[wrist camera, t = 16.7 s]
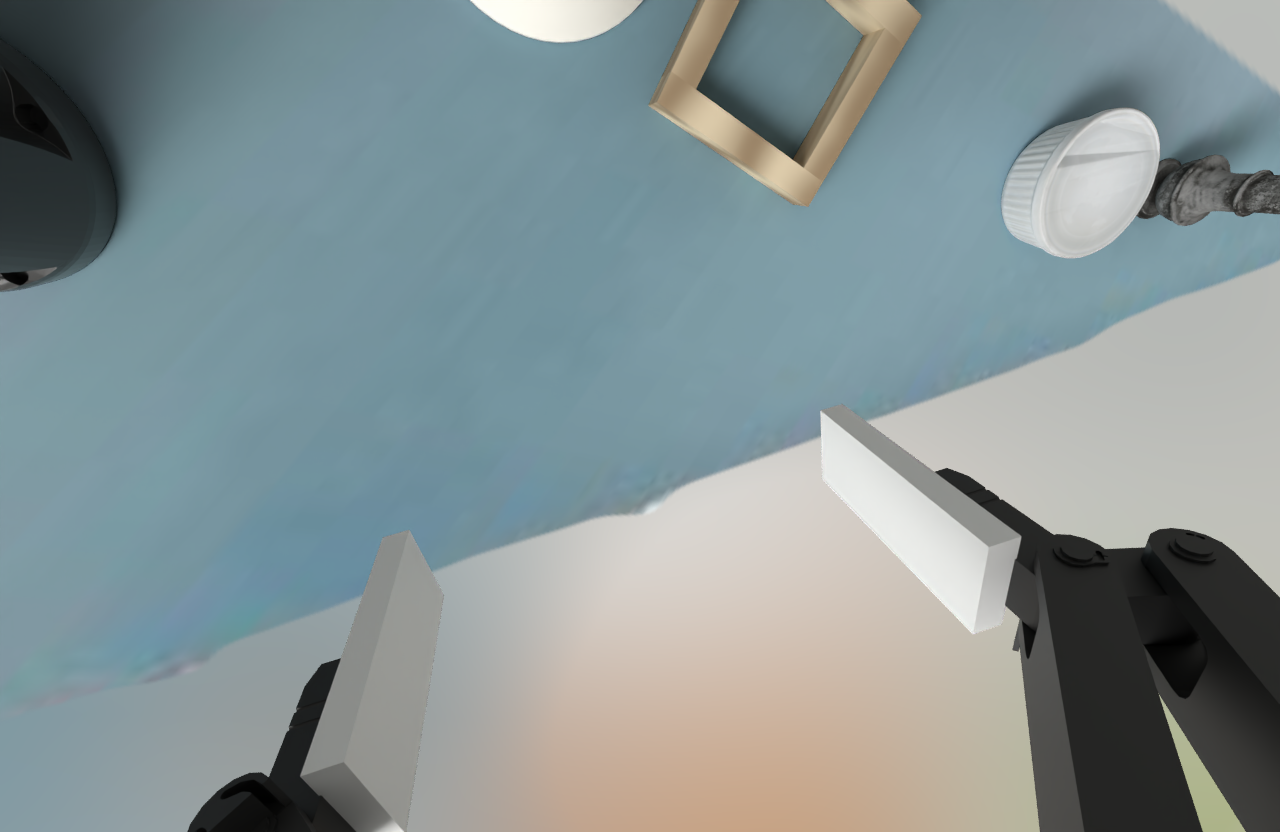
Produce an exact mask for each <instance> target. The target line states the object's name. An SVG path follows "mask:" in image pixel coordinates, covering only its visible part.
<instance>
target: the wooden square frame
mask: <svg viewBox="0 0 1280 832" xmlns="http://www.w3.org/2000/svg"><path fill="white" fill-rule="evenodd" d="M739 1H740V0H698V1H697V3H696V5H695V7H694V9H693V12H692V14H691V16H690V18H689V20H688V22H687V24H686V26H685V29H684V31H683V33H682V35H681V37H680V39H679V41H678V43H677V46H676V48H675V50H674V52H673V54H672V56H671V58H670V60H669V63H668V65H667V67H666V69H665V71H664V73H663V75H662V77H661V80H660V82H659V84H658V86H657V88H656V90H655V92H654V94H653V97H652V99H651V101H650V103H649V105H648V106H650V107H651V108H653V109H654V110H656V111H657V112H658V113H660V114H661V115H663V116H664V117H666V118H667V119H669V120H670V121H672V122H673V123H675V124H676V125H677V126H679V127H680V128H682V129H683V130H685V131H686V132H688V133H689V134H691V135H692V136H694V137H695V138H697V139H698V140H699V141H701V142H702V143H704V144H705V145H707V146H708V147H710V148H711V149H713V150H714V151H716V152H717V153H718V154H720V155H721V156H723V157H724V158H726V159H727V160H729V161H730V162H732V163H733V164H735V165H736V166H737V167H739V168H740V169H742V170H743V171H745V172H746V173H748V174H749V175H751V176H752V177H754V178H755V179H756V180H758V181H759V182H761V183H762V184H764V185H765V186H767V187H768V188H770V189H771V190H773V191H774V192H775V193H777V194H778V195H780V196H781V197H783V198H784V199H786V200H787V201H789V202H790V203H792V204H794V205H801V206H807V207H808V206H809V204H810V203H811V201H812V199H813V198H814V196H815V194H816V192H817V191H818V189H819V187H820V186H821V184H822V182H823V181H824V179H825V177H826V176H827V174H828V172H829V171H830V169H831V167H832V166H833V164H834V162H835V161H836V159H837V157H838V156H839V154H840V152H841V151H842V149H843V147H844V146H845V144H846V142H847V141H848V139H849V137H850V136H851V134H852V132H853V130H854V129H855V127H856V125H857V124H858V122H859V120H860V119H861V117H862V115H863V114H864V112H865V110H866V109H867V107H868V105H869V104H870V102H871V100H872V99H873V97H874V95H875V94H876V92H877V90H878V89H879V87H880V85H881V84H882V82H883V80H884V79H885V77H886V75H887V73H888V72H889V70H890V68H891V67H892V65H893V63H894V62H895V60H896V58H897V57H898V55H899V53H900V52H901V50H902V48H903V47H904V45H905V43H906V42H907V40H908V38H909V37H910V35H911V33H912V32H913V30H914V28H915V27H916V25H917V23H918V22H919V20H920V18H921V17H922V15H921V14H920V13H919V12H918V11H917V10H916V9H915V8H914V7H913V6H912V5H911V4H910V3H909V2H908V1H907V0H826V1H827V2H828V3H829V4H830V5H831V6H832V7H833V8H834V9H835V10H837V11H838V12H839V13H840V14H841V15H842V16H843V17H844V18H845V19H846V20H847V21H848V22H850V23H851V24H852V25H853V26H854V27H855V28H856V29H857V30H858V31H859V32H860V33H861V34H863V35H864V36H863V37H862V39H861V41H860V43H859V44H858V46H857V48H856V50H855V51H854V53H853V55H852V57H851V58H850V60H849V62H848V64H847V65H846V67H845V69H844V71H843V72H842V74H841V76H840V78H839V80H838V81H837V83H836V85H835V87H834V88H833V90H832V92H831V94H830V95H829V97H828V99H827V101H826V102H825V104H824V106H823V108H822V109H821V111H820V113H819V115H818V116H817V118H816V120H815V122H814V123H813V125H812V127H811V129H810V130H809V132H808V134H807V136H806V137H805V139H804V141H803V143H802V144H801V146H800V148H799V150H798V151H797V153H796V155H795V157H794V158H793V160H792V159H791V158H789V157H788V156H787V155H785V154H784V153H783V152H781V151H780V150H778V149H777V148H776V147H774V146H773V145H772V144H770V143H769V142H767V141H766V140H765V139H763V138H762V137H761V136H759V135H758V134H756V133H755V132H754V131H752V130H751V129H750V128H748V127H747V126H745V125H744V124H743V123H741V122H740V121H739V120H737V119H736V118H735V117H733V116H732V115H730V114H729V113H728V112H726V111H725V110H724V109H722V108H721V107H719V106H718V105H717V104H715V103H714V102H713V101H711V100H710V99H708V98H707V97H706V96H704V95H703V94H702V93H700V92H699V91H697V90H696V88H697V86H698V84H699V82H700V80H701V78H702V76H703V74H704V72H705V70H706V68H707V66H708V64H709V62H710V60H711V58H712V56H713V54H714V52H715V50H716V47H717V45H718V43H719V41H720V39H721V37H722V35H723V33H724V31H725V29H726V27H727V25H728V23H729V21H730V19H731V17H732V15H733V13H734V11H735V9H736V7H737V5H738V3H739Z"/></svg>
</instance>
